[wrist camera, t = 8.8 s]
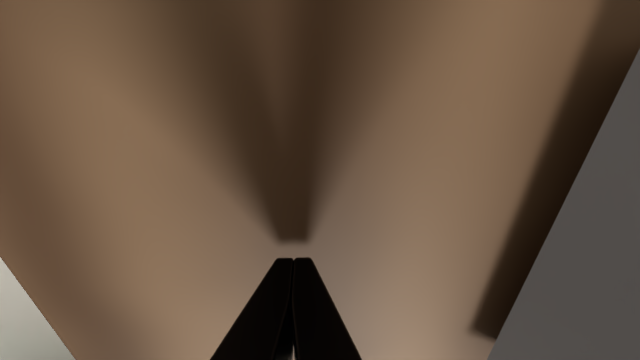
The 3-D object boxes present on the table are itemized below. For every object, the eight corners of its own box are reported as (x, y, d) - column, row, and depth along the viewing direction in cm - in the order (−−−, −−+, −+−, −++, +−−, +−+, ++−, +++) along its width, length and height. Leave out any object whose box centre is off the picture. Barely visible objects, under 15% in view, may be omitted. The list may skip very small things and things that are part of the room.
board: (128, 302, 14) (87, 375, 12) (-36, -30, 8) (-211, -31, 5) (477, 297, 14) (512, 368, 12) (606, -33, 8) (747, -35, 5)
